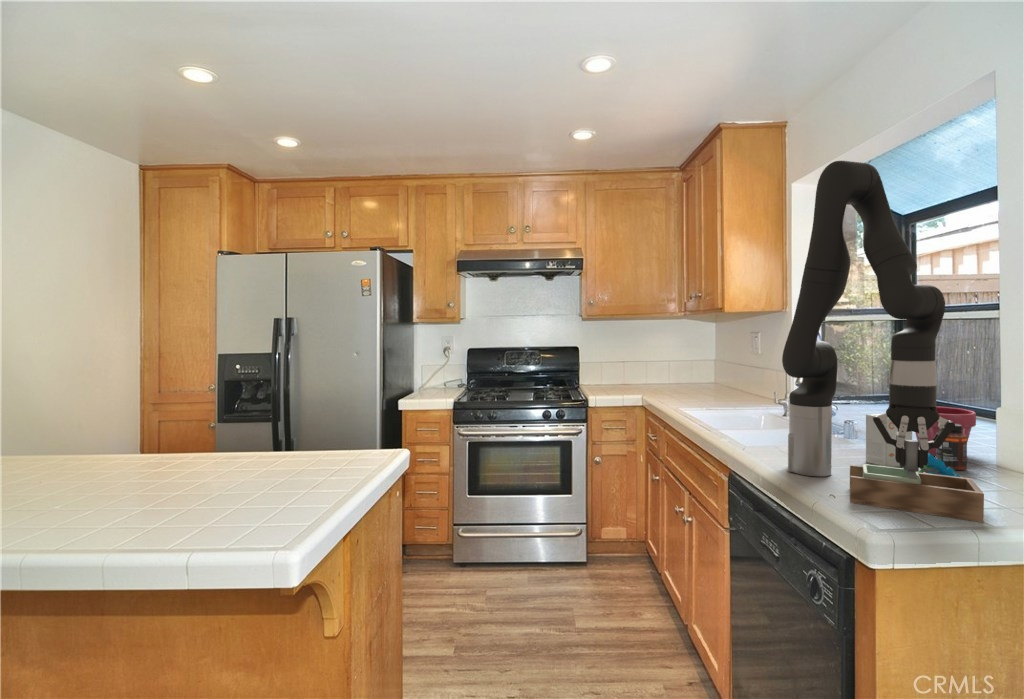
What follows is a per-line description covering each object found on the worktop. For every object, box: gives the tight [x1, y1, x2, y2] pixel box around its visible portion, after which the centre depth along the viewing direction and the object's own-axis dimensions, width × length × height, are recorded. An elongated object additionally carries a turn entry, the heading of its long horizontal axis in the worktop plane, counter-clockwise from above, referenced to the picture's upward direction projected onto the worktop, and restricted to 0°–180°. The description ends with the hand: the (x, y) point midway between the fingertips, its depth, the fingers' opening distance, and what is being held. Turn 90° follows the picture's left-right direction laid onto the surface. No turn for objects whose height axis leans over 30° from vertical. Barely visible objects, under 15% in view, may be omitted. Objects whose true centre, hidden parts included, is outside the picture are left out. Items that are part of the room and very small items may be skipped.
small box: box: [865, 413, 913, 468], centre depth 131 cm, size 8×6×13 cm
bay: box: [849, 464, 985, 523], centre depth 101 cm, size 20×11×5 cm, turn 56°
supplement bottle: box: [935, 424, 968, 471], centre depth 126 cm, size 6×6×11 cm
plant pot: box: [914, 405, 977, 456], centre depth 139 cm, size 14×14×13 cm
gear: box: [918, 453, 962, 477], centre depth 115 cm, size 11×6×10 cm
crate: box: [862, 439, 921, 484], centre depth 103 cm, size 9×8×12 cm
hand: (911, 465), depth 101 cm, fingers closed on crate, 2 cm apart
